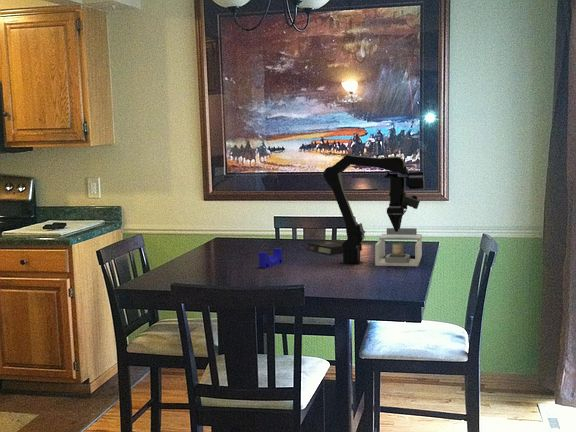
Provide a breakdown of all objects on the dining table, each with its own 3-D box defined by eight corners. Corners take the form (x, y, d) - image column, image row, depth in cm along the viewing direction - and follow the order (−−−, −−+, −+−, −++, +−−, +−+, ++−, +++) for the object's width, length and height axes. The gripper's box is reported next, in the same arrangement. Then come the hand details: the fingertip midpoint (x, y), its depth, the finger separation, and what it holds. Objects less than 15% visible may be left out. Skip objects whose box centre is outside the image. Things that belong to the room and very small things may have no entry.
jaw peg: (398, 262, 270) (398, 245, 269) (390, 261, 273) (390, 244, 272) (405, 260, 273) (405, 244, 272) (397, 259, 276) (397, 243, 275)
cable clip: (273, 262, 284) (272, 247, 283) (282, 263, 281) (282, 248, 280) (255, 267, 274) (255, 252, 273) (265, 268, 271) (265, 253, 270)
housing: (417, 266, 266) (417, 245, 265) (375, 265, 270) (375, 245, 269) (421, 255, 289) (421, 236, 288) (382, 255, 293) (382, 236, 292)
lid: (419, 239, 277) (419, 231, 277) (379, 239, 281) (378, 231, 281) (421, 236, 288) (421, 228, 287) (382, 235, 292) (382, 228, 291)
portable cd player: (307, 252, 309) (307, 243, 308) (338, 248, 318) (338, 239, 318) (330, 257, 295) (329, 247, 295) (361, 252, 304) (361, 243, 304)
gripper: (416, 191, 259) (417, 233, 260) (420, 187, 277) (420, 227, 278) (386, 191, 262) (386, 233, 263) (391, 188, 280) (391, 227, 281)
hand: (397, 230), depth 271 cm, fingers open, 8 cm apart
